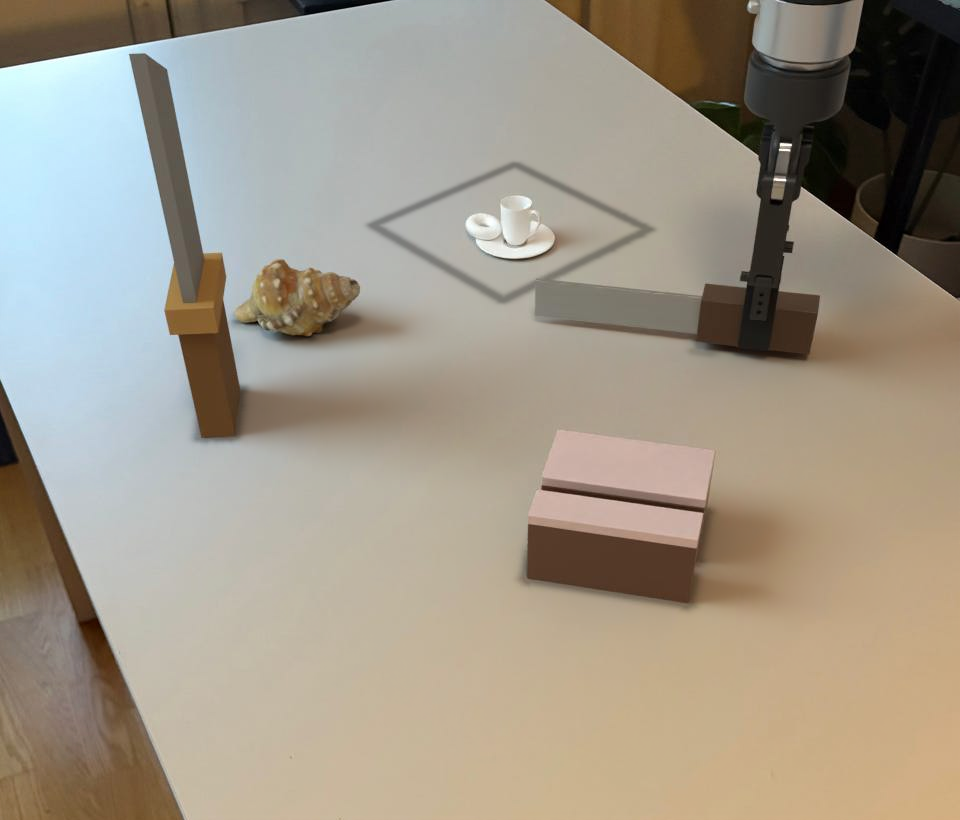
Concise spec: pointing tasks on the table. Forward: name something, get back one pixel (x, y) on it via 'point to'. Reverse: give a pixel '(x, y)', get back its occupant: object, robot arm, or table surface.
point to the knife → (189, 263)
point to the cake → (630, 471)
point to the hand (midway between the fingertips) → (755, 335)
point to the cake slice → (612, 545)
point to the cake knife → (680, 311)
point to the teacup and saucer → (511, 230)
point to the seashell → (296, 299)
